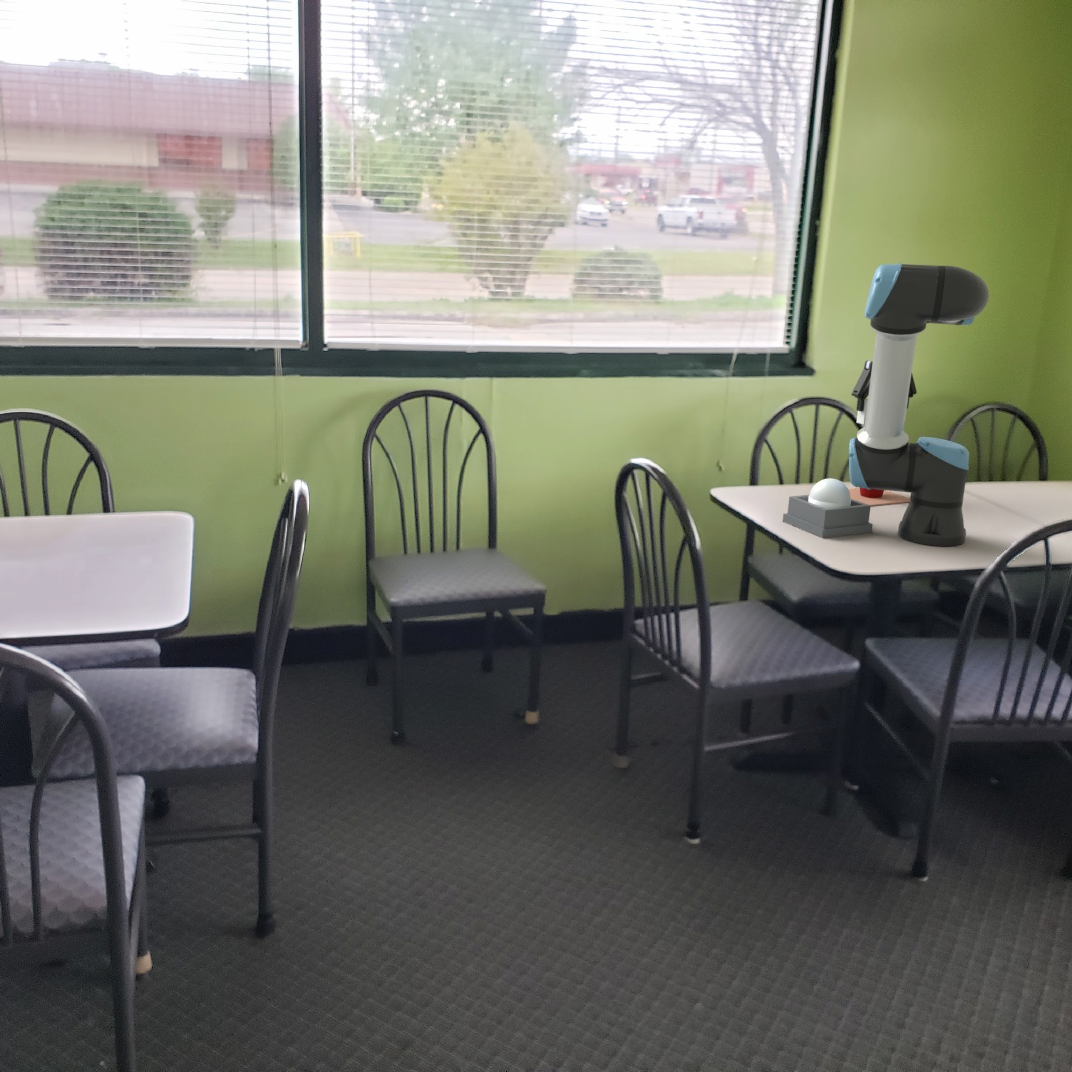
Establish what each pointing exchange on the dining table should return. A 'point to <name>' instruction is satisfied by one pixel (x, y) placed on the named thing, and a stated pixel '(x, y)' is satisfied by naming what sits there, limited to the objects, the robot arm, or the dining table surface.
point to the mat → (884, 500)
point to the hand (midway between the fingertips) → (880, 422)
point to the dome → (830, 494)
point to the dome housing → (828, 517)
